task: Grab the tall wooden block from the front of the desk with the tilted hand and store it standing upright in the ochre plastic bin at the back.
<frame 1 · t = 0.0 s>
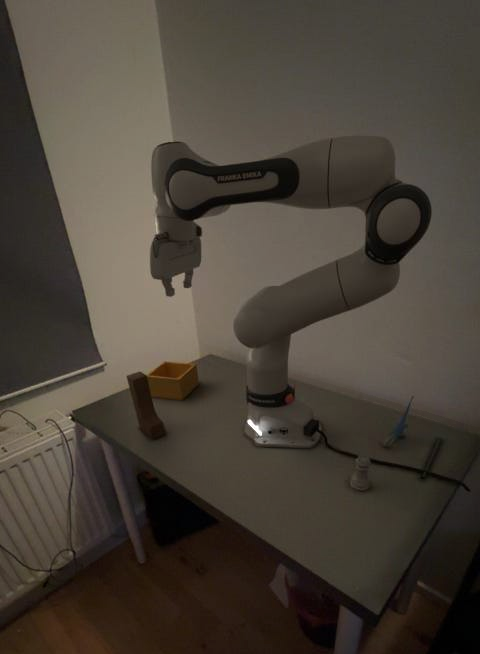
hand: (179, 291, 90), 39 cm above the table, tool pointing down, fingers open, 8 cm apart
bin: (174, 389, 130), on the table
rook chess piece: (359, 485, 81), on the table
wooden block: (152, 431, 107), on the table
rod: (431, 458, 88), on the table
dinosaur figurine: (394, 440, 95), on the table
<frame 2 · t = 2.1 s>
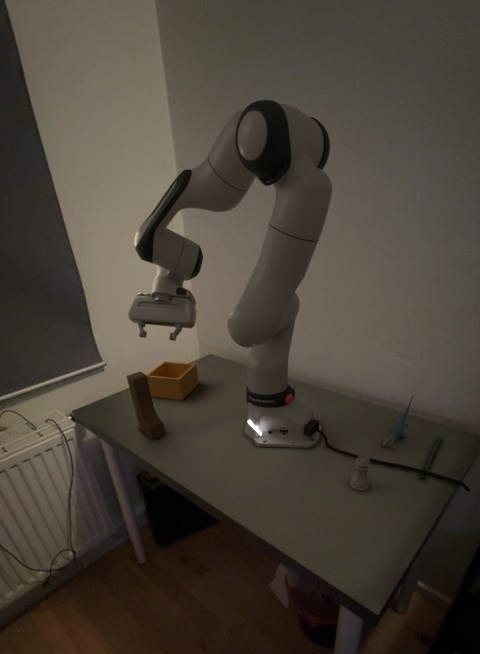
hand: (157, 338, 102), 25 cm above the table, tool tilted 45°, fingers open, 8 cm apart
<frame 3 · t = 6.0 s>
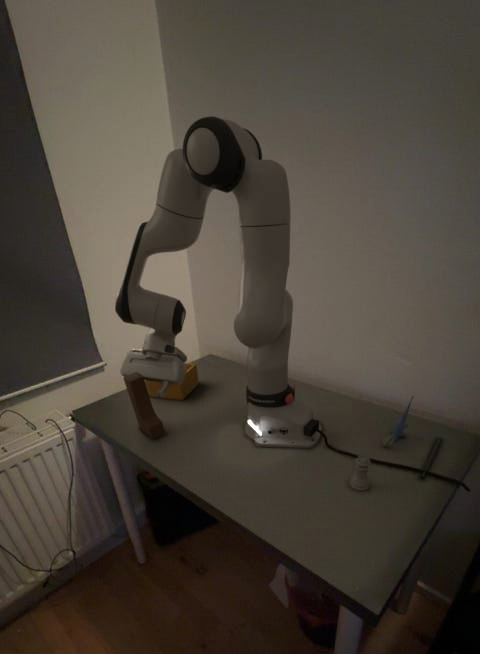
hand: (146, 394, 102), 12 cm above the table, tool tilted 45°, fingers open, 8 cm apart
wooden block: (152, 431, 107), on the table, touching gripper
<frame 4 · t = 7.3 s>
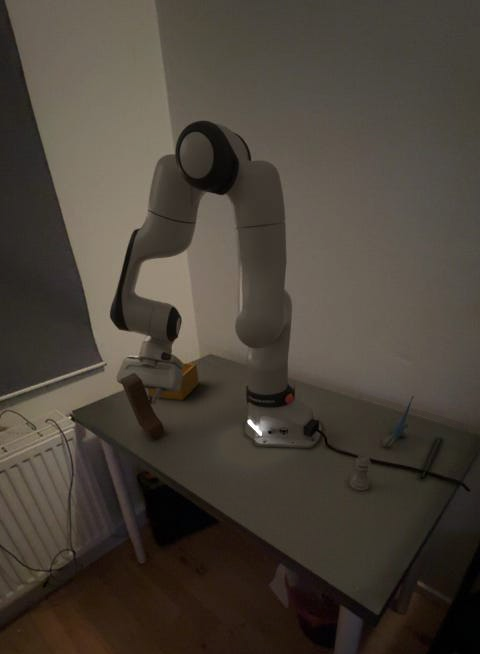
hand: (142, 402, 101), 10 cm above the table, tool tilted 45°, fingers closed on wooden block, 5 cm apart
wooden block: (152, 428, 106), point 1 cm above the table, touching gripper
everything else where it was.
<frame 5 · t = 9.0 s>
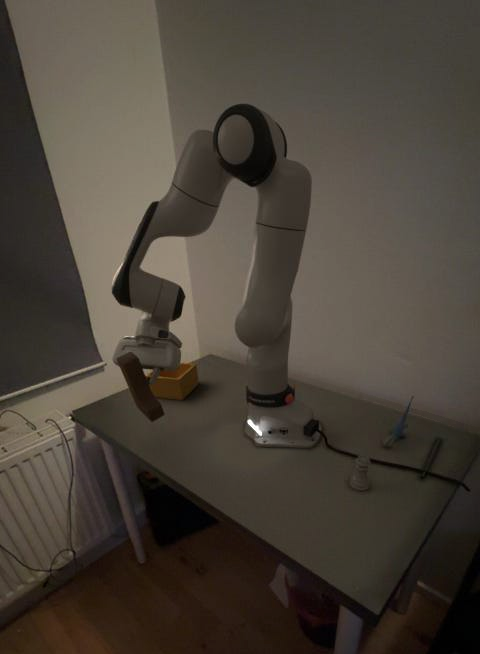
hand: (140, 383, 97), 17 cm above the table, tool tilted 45°, fingers closed on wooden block, 5 cm apart
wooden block: (151, 411, 102), point 7 cm above the table, touching gripper
everything else where it was.
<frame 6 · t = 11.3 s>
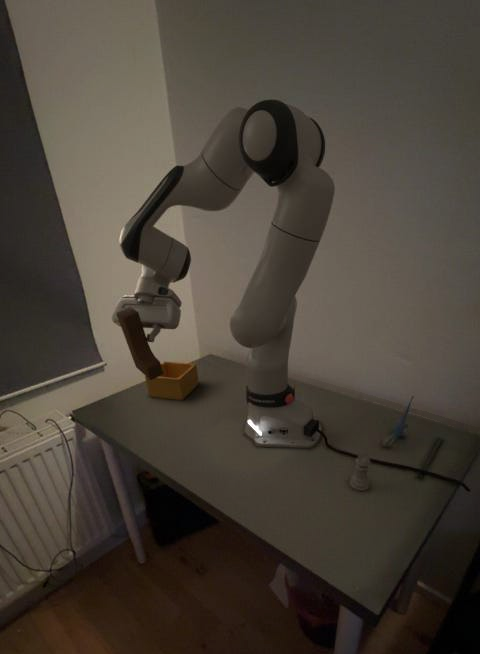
hand: (139, 340, 97), 26 cm above the table, tool tilted 45°, fingers closed on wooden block, 5 cm apart
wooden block: (150, 371, 102), point 17 cm above the table, touching gripper
when the fingers open (12 cm above the table, at t = 18.1 s): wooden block drops 1 cm, resting on bin.
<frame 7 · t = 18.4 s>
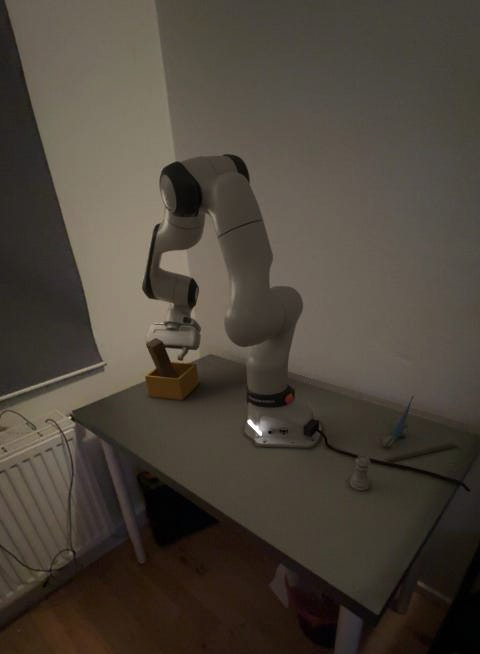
hand: (168, 359, 123), 12 cm above the table, tool tilted 45°, fingers open, 8 cm apart
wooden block: (174, 386, 129), point 2 cm above the table, touching bin, gripper
rod: (422, 455, 90), on the table
everything else where it was.
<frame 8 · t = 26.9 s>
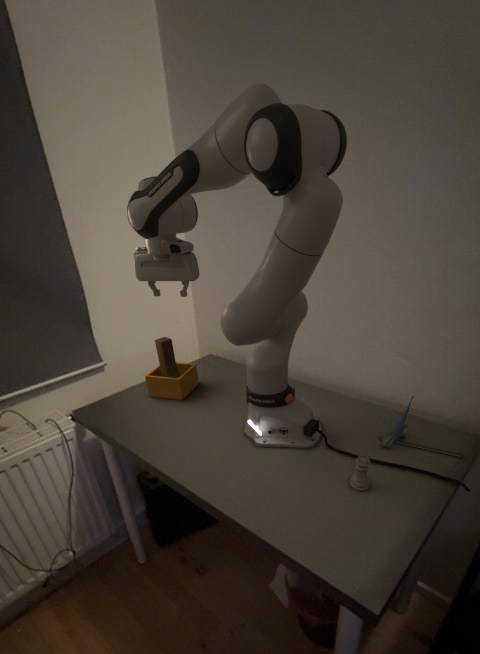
hand: (170, 296, 108), 34 cm above the table, tool pointing down, fingers open, 8 cm apart
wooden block: (175, 388, 129), point 1 cm above the table, touching bin
rod: (419, 449, 92), on the table
everything else where it was.
at the end: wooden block inside the target area in the bin (0.5 cm from its centre), point 0.8 cm above the bin's base; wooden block tilted 0°; the gripper is holding nothing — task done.
